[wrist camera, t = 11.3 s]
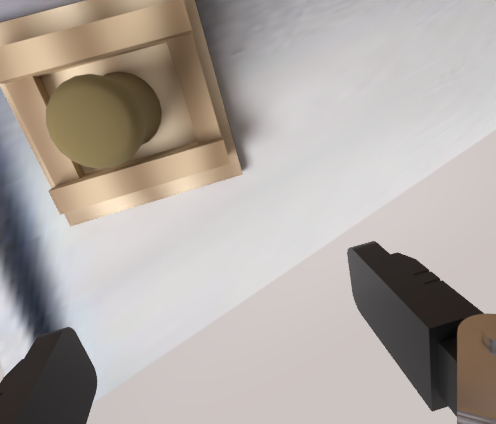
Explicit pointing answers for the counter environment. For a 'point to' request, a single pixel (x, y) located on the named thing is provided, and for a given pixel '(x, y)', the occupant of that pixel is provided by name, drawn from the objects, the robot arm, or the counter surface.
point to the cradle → (129, 61)
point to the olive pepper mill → (102, 118)
